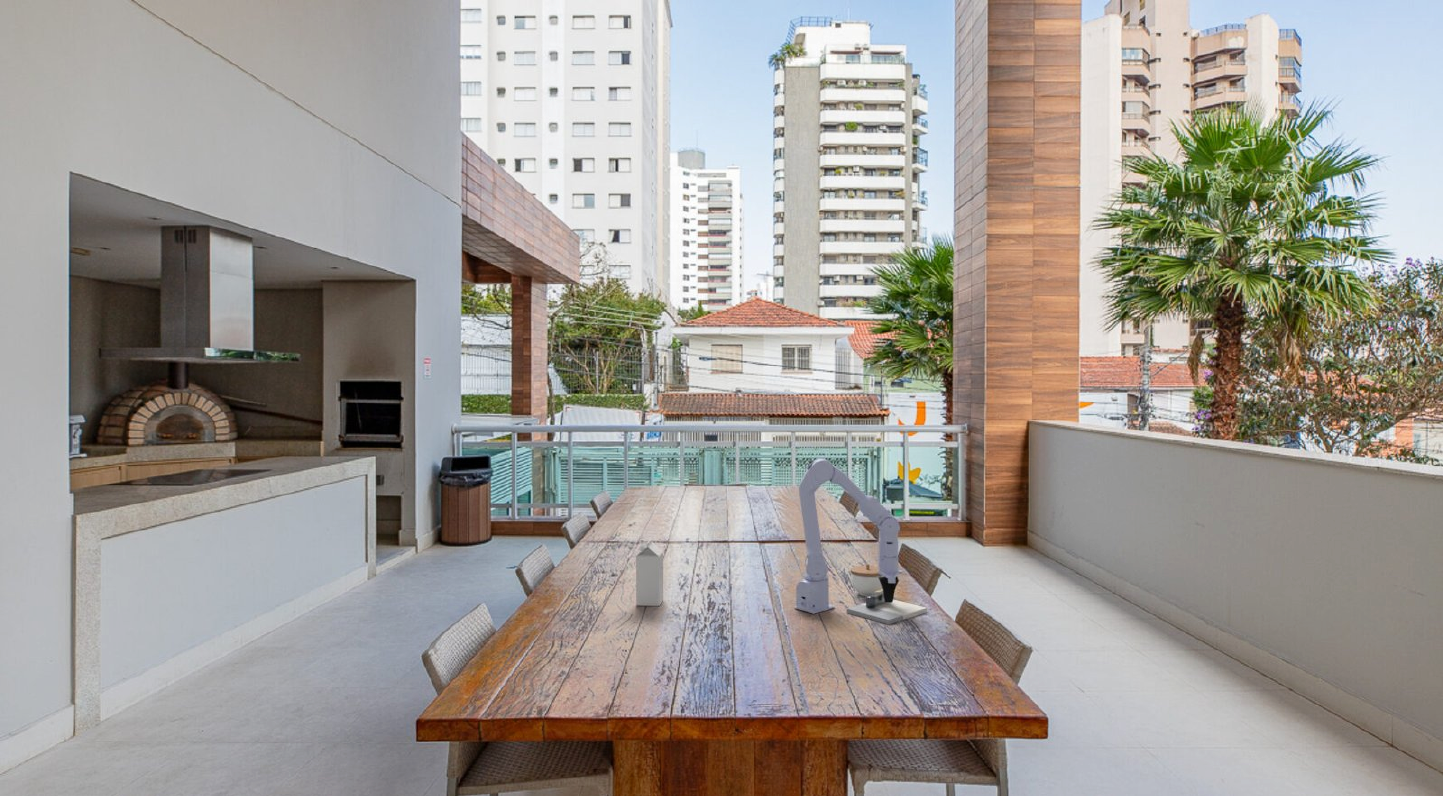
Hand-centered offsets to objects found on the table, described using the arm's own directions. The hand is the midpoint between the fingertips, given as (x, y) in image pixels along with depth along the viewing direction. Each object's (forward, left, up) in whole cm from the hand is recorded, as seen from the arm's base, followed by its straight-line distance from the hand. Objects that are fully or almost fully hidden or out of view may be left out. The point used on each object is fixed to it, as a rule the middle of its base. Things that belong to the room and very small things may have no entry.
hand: (888, 601), depth 224 cm
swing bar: (-2, +2, -1) cm, 3 cm away
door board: (-3, -2, -2) cm, 4 cm away
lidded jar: (+9, +15, -2) cm, 18 cm away
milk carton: (-49, +52, -2) cm, 71 cm away
